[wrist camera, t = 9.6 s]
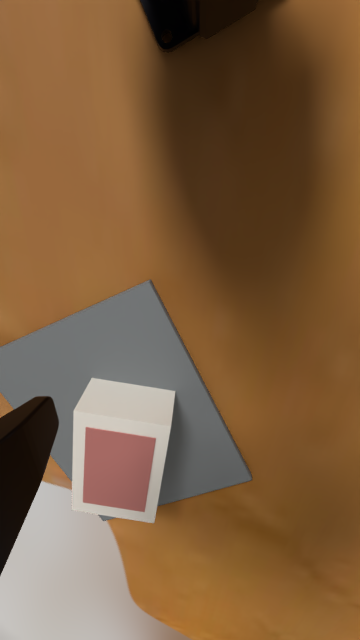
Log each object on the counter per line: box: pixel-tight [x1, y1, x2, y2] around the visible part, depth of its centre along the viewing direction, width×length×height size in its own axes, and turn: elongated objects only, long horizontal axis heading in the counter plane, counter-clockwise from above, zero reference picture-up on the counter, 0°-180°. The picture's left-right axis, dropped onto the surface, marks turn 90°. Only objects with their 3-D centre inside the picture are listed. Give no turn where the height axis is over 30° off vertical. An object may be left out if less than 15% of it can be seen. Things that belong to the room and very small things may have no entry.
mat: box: [0, 279, 252, 521], centre depth 25 cm, size 18×14×1 cm
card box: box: [72, 378, 175, 523], centre depth 23 cm, size 6×9×4 cm, turn 171°
